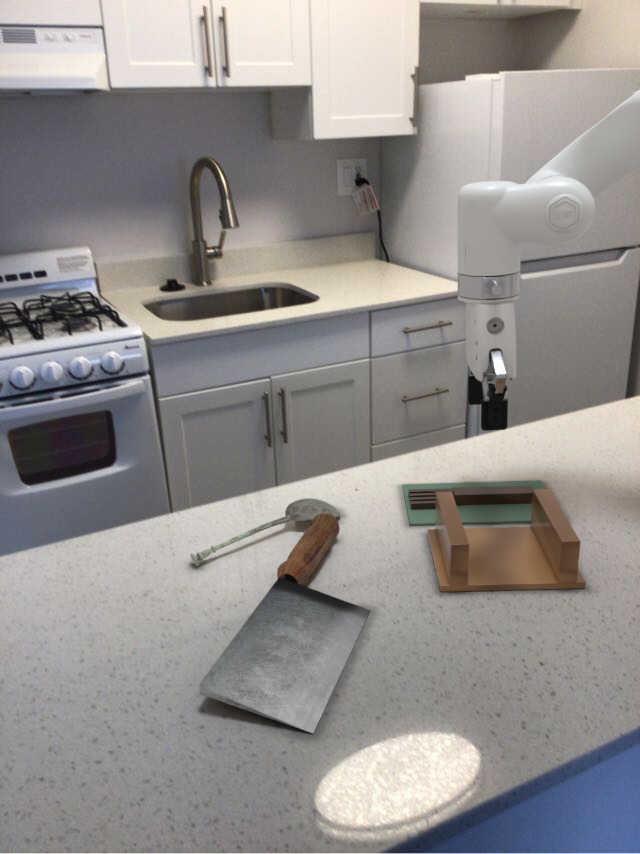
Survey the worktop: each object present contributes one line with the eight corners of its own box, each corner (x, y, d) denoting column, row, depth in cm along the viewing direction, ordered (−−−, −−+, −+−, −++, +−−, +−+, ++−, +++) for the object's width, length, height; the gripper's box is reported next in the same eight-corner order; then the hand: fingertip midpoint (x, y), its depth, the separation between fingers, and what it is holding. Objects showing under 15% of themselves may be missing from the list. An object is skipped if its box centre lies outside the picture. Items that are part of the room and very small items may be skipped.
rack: (553, 531, 96) (557, 488, 94) (585, 588, 84) (590, 541, 82) (427, 534, 97) (427, 492, 94) (440, 591, 84) (441, 544, 82)
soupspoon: (350, 523, 101) (321, 508, 107) (350, 500, 100) (320, 486, 106) (205, 576, 89) (180, 556, 94) (203, 550, 88) (177, 531, 93)
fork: (529, 492, 106) (530, 482, 105) (537, 506, 102) (538, 496, 101) (408, 495, 106) (408, 485, 106) (410, 510, 102) (410, 499, 102)
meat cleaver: (315, 734, 65) (313, 696, 64) (196, 709, 68) (192, 672, 67) (400, 546, 95) (400, 517, 93) (314, 535, 98) (313, 507, 97)
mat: (540, 482, 110) (540, 480, 109) (563, 521, 98) (564, 519, 98) (402, 486, 110) (402, 484, 110) (409, 525, 99) (409, 523, 99)
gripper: (536, 298, 85) (531, 438, 91) (504, 272, 101) (501, 393, 108) (469, 302, 86) (468, 442, 92) (448, 276, 102) (448, 396, 108)
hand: (486, 415), depth 100 cm, fingers open, 9 cm apart
